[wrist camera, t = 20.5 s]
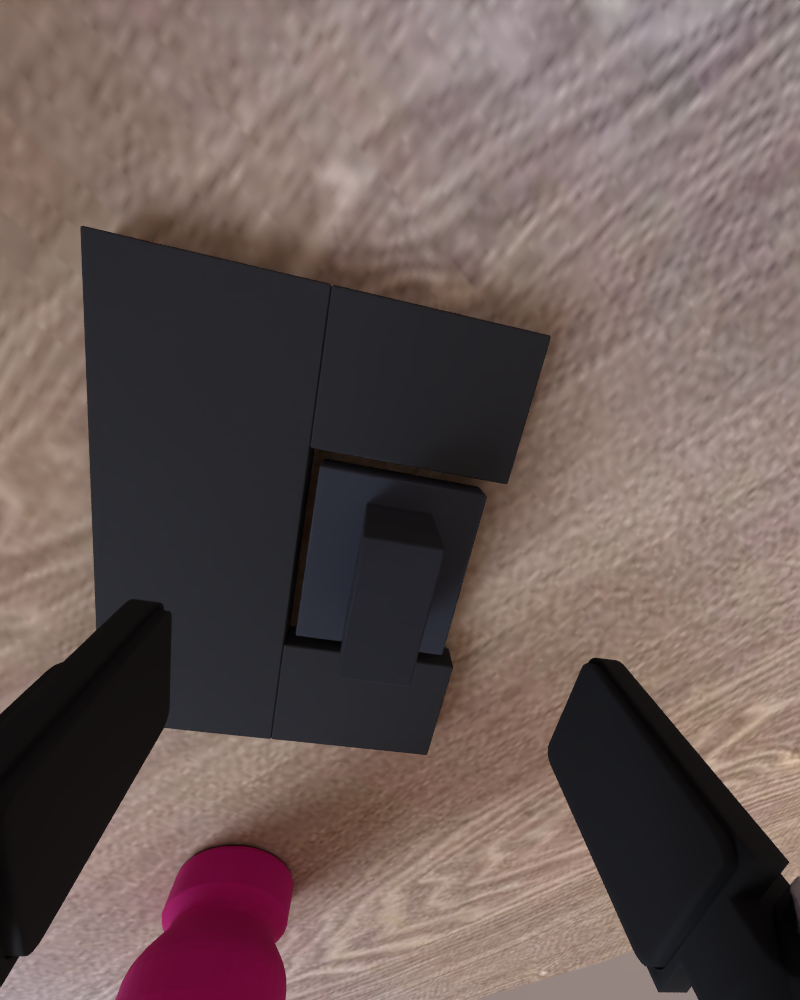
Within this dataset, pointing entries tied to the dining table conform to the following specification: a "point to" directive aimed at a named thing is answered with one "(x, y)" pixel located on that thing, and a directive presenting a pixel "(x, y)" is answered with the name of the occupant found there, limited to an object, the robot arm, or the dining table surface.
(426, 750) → the black u-shaped block
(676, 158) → the dining table surface
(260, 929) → the pepper mill
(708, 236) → the dining table surface
